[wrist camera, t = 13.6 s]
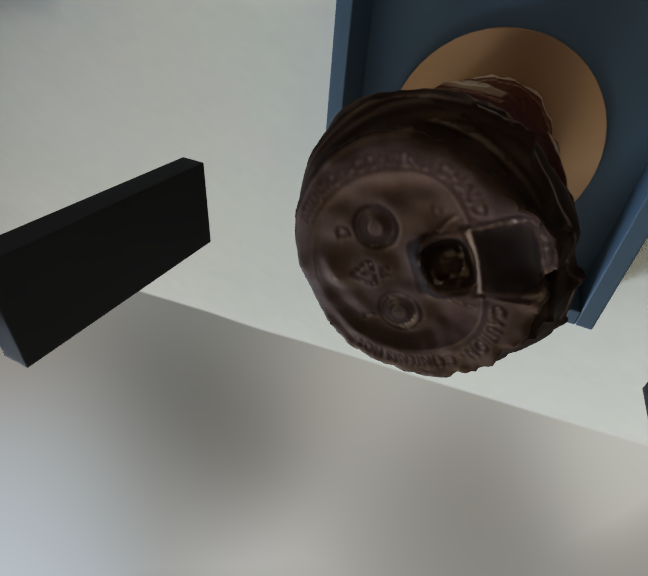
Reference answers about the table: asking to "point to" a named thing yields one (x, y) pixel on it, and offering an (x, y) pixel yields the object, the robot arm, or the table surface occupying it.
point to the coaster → (539, 74)
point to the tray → (581, 36)
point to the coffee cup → (440, 225)
